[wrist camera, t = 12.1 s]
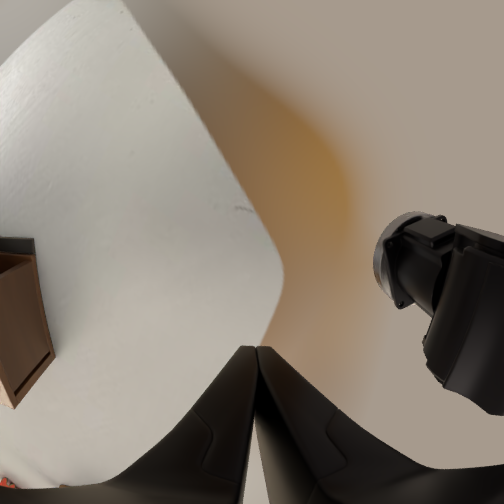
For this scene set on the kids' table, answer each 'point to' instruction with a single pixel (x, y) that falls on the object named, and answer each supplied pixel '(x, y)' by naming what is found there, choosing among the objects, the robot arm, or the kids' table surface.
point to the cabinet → (21, 322)
